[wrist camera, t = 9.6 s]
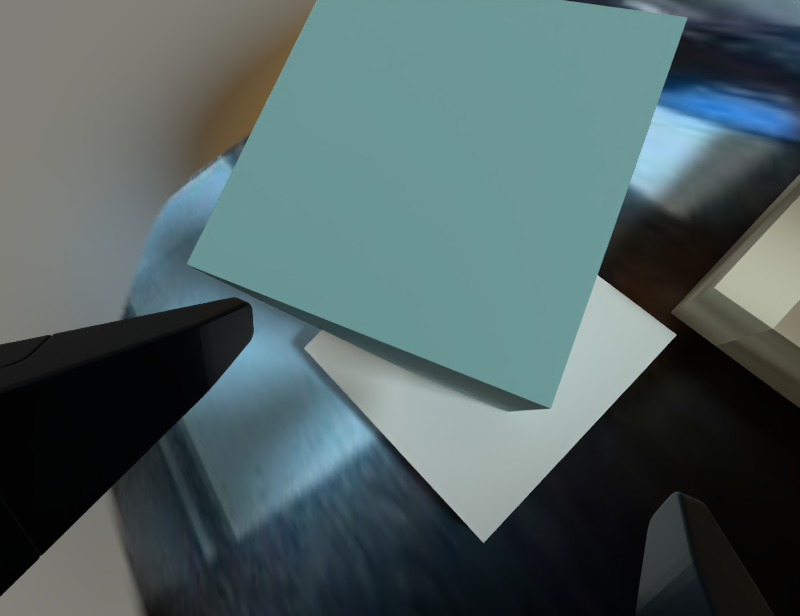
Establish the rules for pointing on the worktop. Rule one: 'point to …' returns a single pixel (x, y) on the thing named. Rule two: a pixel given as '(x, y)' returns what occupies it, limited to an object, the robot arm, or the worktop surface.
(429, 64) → the post
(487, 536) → the pad
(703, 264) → the worktop surface
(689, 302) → the socket block
